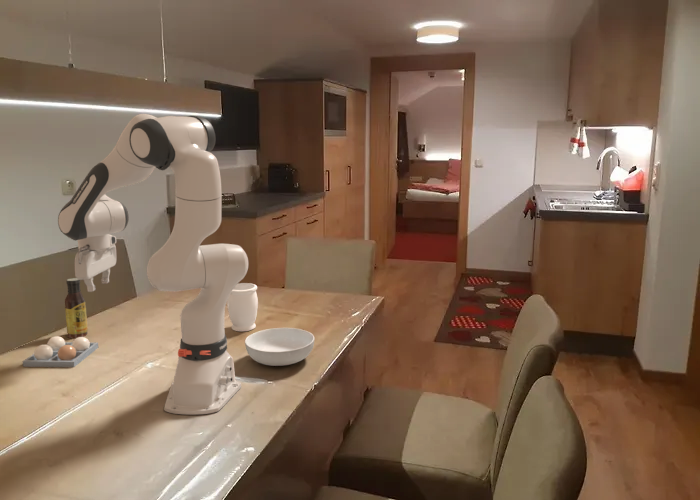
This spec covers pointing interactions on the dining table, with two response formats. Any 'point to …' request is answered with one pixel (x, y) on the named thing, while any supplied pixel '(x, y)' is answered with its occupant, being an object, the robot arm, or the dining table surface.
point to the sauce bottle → (75, 310)
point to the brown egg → (66, 353)
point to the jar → (243, 306)
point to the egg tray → (56, 362)
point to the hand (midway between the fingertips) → (98, 287)
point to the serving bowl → (279, 346)
